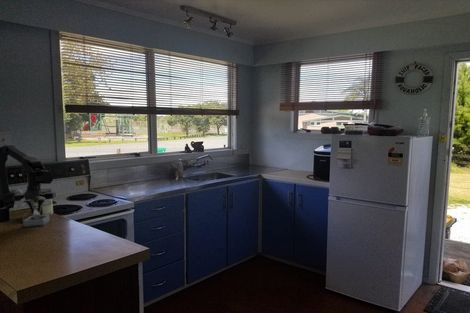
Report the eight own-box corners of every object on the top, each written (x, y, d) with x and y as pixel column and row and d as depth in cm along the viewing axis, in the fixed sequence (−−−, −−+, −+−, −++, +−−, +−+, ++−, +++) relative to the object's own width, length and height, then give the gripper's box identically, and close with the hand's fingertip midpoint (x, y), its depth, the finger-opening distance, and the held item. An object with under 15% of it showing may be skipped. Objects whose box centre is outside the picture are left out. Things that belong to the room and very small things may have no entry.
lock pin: (35, 218, 183) (34, 207, 182) (40, 218, 183) (39, 207, 183) (33, 219, 180) (32, 208, 180) (38, 219, 181) (37, 208, 180)
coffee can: (32, 217, 196) (30, 192, 194) (34, 213, 205) (32, 189, 204) (53, 214, 200) (51, 190, 199) (53, 210, 209) (52, 188, 208)
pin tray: (30, 221, 186) (30, 216, 186) (49, 220, 188) (49, 215, 187) (23, 226, 177) (23, 221, 176) (43, 225, 178) (43, 219, 178)
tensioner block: (28, 217, 194) (28, 210, 194) (40, 216, 196) (39, 209, 195) (22, 222, 186) (21, 214, 185) (34, 221, 187) (34, 213, 186)
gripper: (7, 186, 170) (10, 217, 172) (48, 184, 174) (50, 215, 176) (16, 183, 181) (19, 212, 183) (55, 181, 185) (57, 209, 186)
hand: (36, 212), depth 182 cm, fingers closed on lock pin, 2 cm apart
